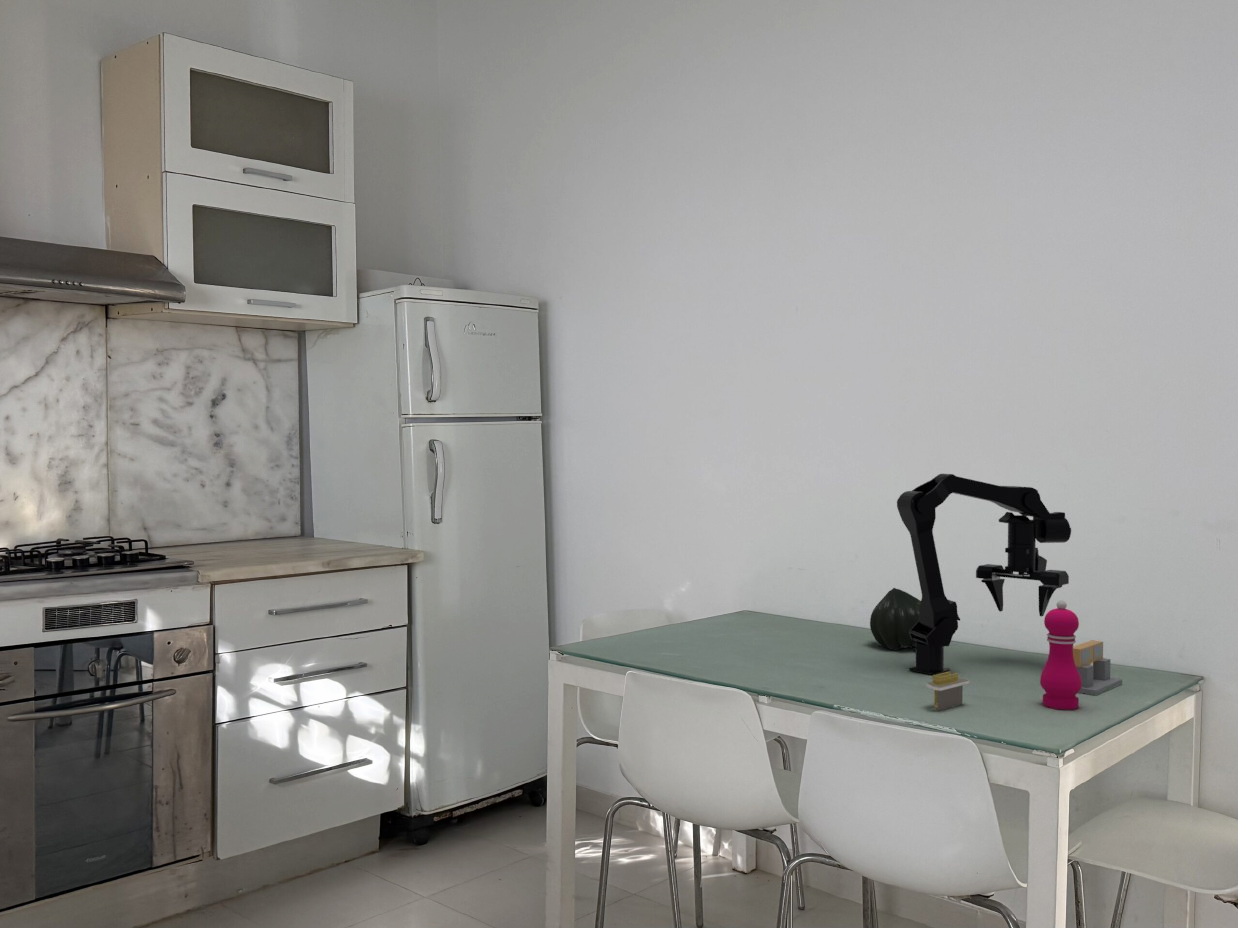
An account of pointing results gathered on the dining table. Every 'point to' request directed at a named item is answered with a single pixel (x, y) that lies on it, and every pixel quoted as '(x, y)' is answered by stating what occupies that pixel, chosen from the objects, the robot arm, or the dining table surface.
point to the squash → (895, 619)
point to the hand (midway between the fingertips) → (1020, 613)
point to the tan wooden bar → (1087, 652)
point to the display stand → (1097, 677)
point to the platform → (947, 690)
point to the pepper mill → (1061, 660)
